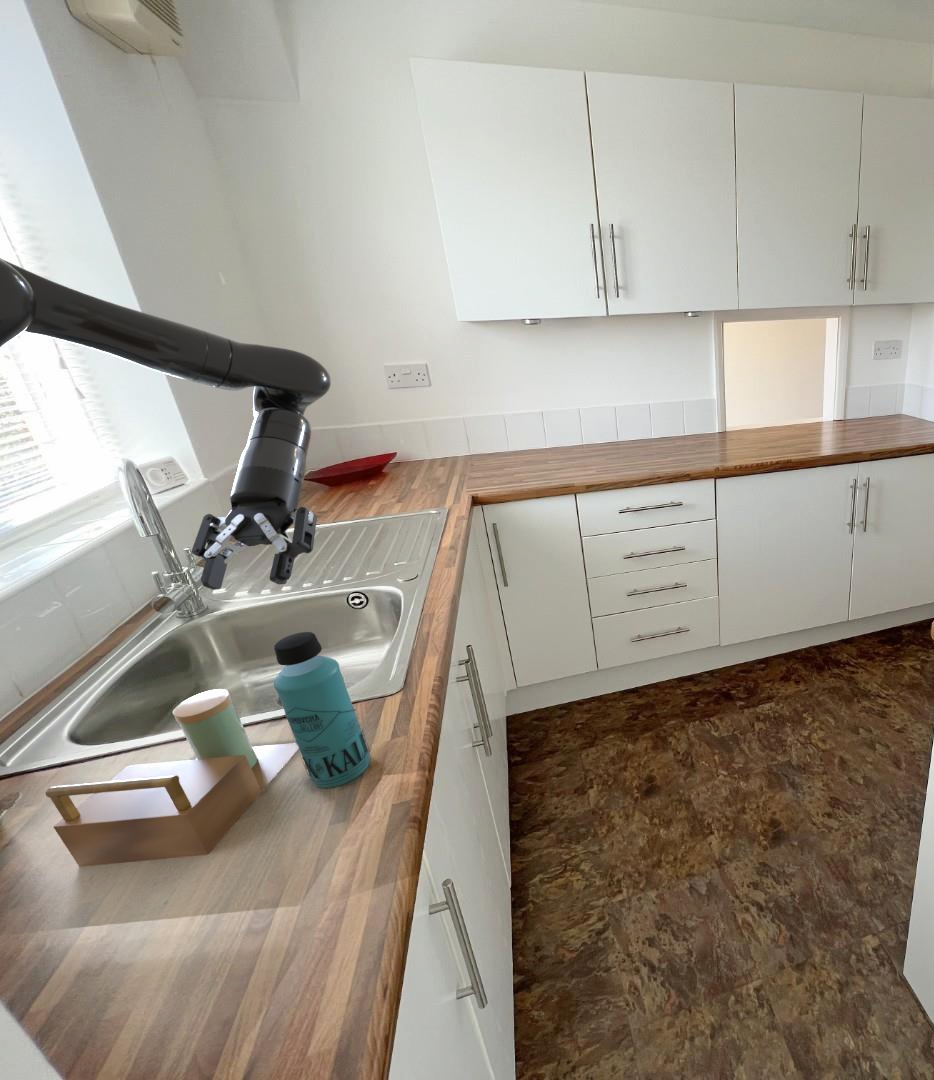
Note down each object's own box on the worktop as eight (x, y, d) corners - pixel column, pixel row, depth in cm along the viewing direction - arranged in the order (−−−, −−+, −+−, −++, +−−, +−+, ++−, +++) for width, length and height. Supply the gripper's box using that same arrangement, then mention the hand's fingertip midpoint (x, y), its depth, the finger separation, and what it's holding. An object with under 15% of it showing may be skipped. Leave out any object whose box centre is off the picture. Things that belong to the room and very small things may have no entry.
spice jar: (195, 786, 70) (160, 718, 66) (226, 755, 75) (195, 690, 71) (239, 782, 70) (207, 714, 66) (268, 751, 75) (239, 687, 71)
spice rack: (85, 876, 61) (32, 796, 57) (208, 759, 76) (173, 690, 72) (213, 864, 61) (170, 783, 57) (309, 750, 77) (280, 681, 73)
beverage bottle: (322, 769, 73) (267, 632, 66) (380, 753, 76) (333, 618, 68) (308, 807, 68) (246, 661, 60) (372, 789, 70) (320, 646, 62)
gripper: (197, 468, 79) (163, 580, 73) (304, 460, 80) (280, 571, 73) (239, 493, 86) (211, 598, 80) (337, 486, 87) (317, 589, 80)
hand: (244, 585), depth 77 cm, fingers open, 8 cm apart
